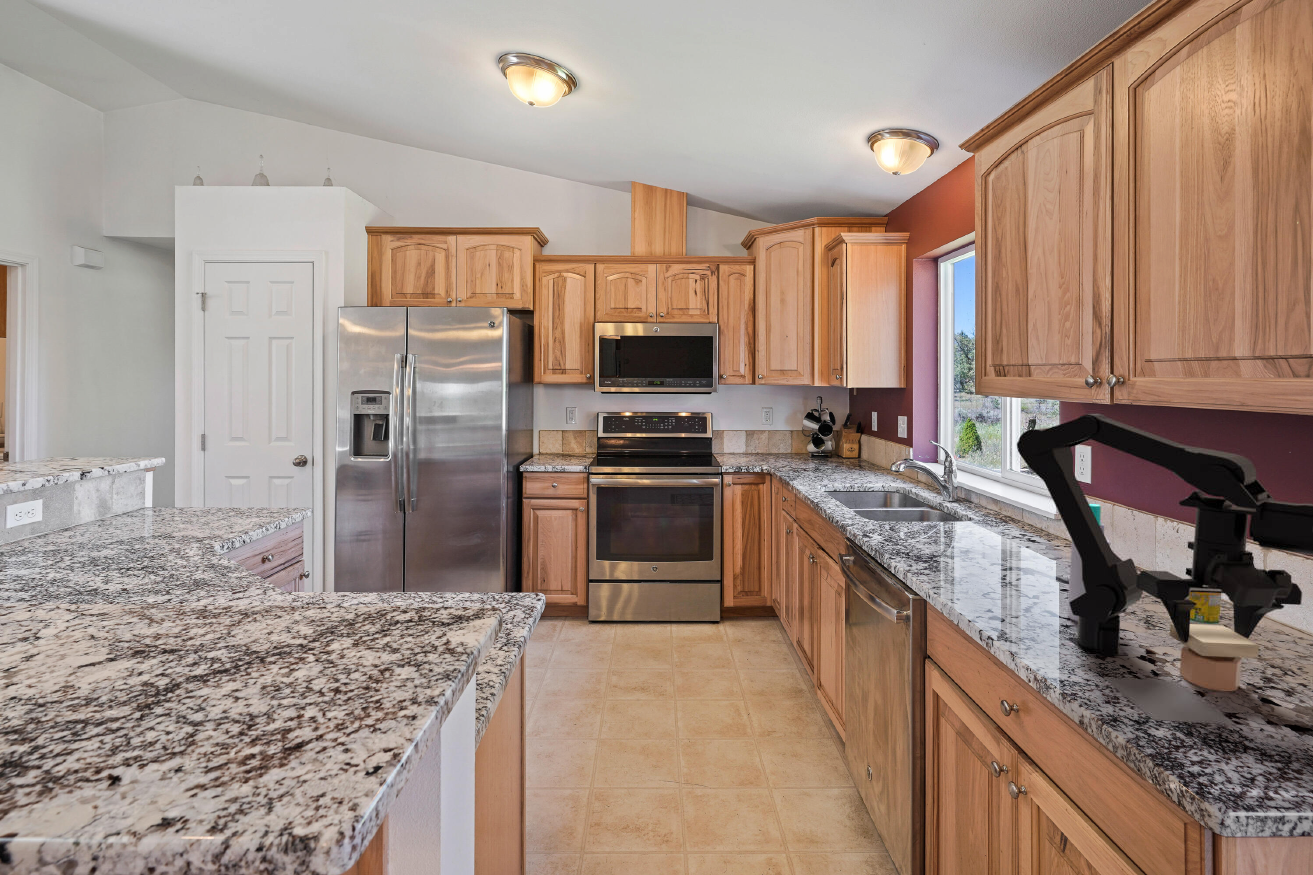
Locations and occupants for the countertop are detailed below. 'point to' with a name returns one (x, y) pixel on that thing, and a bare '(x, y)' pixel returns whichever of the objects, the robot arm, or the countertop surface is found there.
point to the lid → (1217, 641)
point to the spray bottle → (1079, 567)
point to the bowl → (1210, 670)
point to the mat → (1168, 701)
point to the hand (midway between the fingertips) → (1211, 642)
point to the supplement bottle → (1205, 608)
